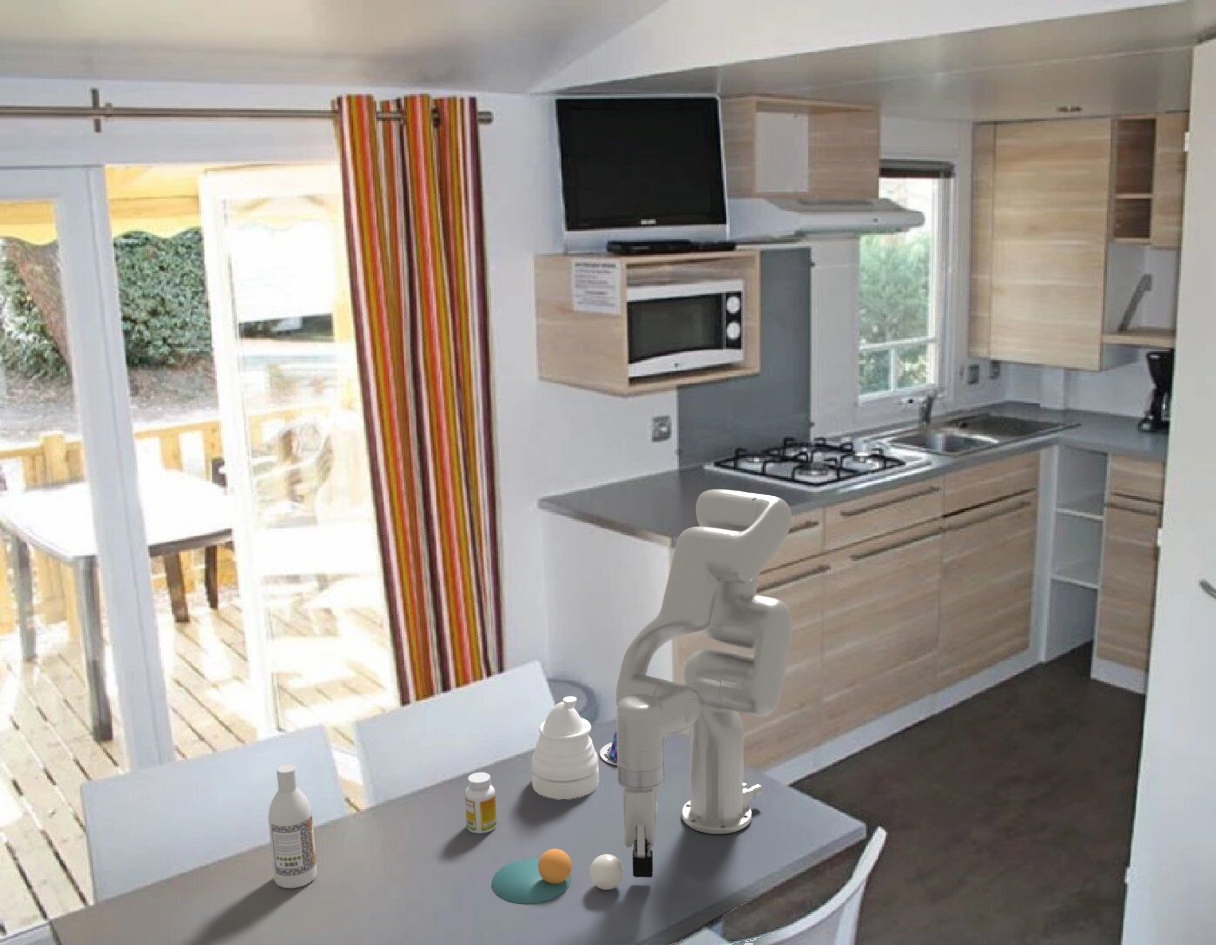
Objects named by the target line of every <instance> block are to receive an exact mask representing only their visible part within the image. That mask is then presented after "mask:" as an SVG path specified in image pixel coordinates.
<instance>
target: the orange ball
mask: <svg viewBox="0 0 1216 945" xmlns="http://www.w3.org/2000/svg"><path fill="white" fill-rule="evenodd" d="M539 859H540V860H539V863H538V870H539V873H540V875H541V877H542V878H543V879H544V880H545V881H546V882H548V883H551V884H558V883H561V882H563V881H565V880H566V879H567V878H568V876H569V875H570V876H571V872H572V868H573V867H572V860H571V858H570V856H569V855H568V854H567V852H565V851H564V850H562V849H559V848H550V849H548V850H546V851H545V852H543V854H542V855H541V856H540V857H539Z"/></svg>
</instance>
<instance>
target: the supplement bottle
mask: <svg viewBox="0 0 1216 945" xmlns="http://www.w3.org/2000/svg"><path fill="white" fill-rule="evenodd" d="M491 782H492V781H491V775H490V774H489V773H487V772H483V771H482V772H481V771H480V772H474V773H472V774H470V775H468V777H467V785H468V787H466V789H465V790H464V791H465V792H464V799H465V802H464V803H465V818H466V828H467V830H468V831H469V832H471V833H473V834H486V833H490V832H493V831H494V830H495V829H496V827H497V823H498V821H497V819H498V818H497V804H496V801H497V800H496V789H495V787H494V786H493V785H492V783H491Z"/></svg>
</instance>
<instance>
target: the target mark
mask: <svg viewBox="0 0 1216 945" xmlns="http://www.w3.org/2000/svg"><path fill="white" fill-rule="evenodd" d="M539 860H540V858H535V857H534V858H525V859H519V860H516V861H515V860H514V861H512V862H511V863H507V864H505V865H504V866H502V867H501V868H500V869H498V870H497V871H496V872H495V874H494V875H493V878H492V880H491V881H492V882H491V886H492V890H493V891H494V892H495V894H496V895H497V896H499V897H500V898H502V899H504V900H506V901H509V902H512V903H516V904H529V905H530V904H539V903H544V902H547V901H550V900H553V899H555V898H557V897H559V896H561V895H562V894H563V893H565V892H566V891H567V889H568V888H569V887H570V885H571V882H572V878H571V874H570V875H569V876H568V878H567V879H566V880H565V881H563V882H561V883H558V884H551V883H548V882H546V881H545V880H544V879H543V878H542V877H541V875H540V873H539V870H538V863H539Z"/></svg>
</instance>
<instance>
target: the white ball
mask: <svg viewBox="0 0 1216 945" xmlns="http://www.w3.org/2000/svg"><path fill="white" fill-rule="evenodd" d="M589 876H590V879H591V881H592V883H593V884H594V885H595V886H596V887H597V888H599V889H601V890H603V891H609V890H613V889H615V888H617V887H618V886H619V885H620V884H621V882H622V880H623V878H624V866H623V863H622V862H621V860H620V859H619V858H618V857H616V856H615V855H613V854H609V853H608V854H607V853H605V854H601V855H599V856H597V857H595V859H594V860H593V861H592V862H591V864H590V867H589Z"/></svg>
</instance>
